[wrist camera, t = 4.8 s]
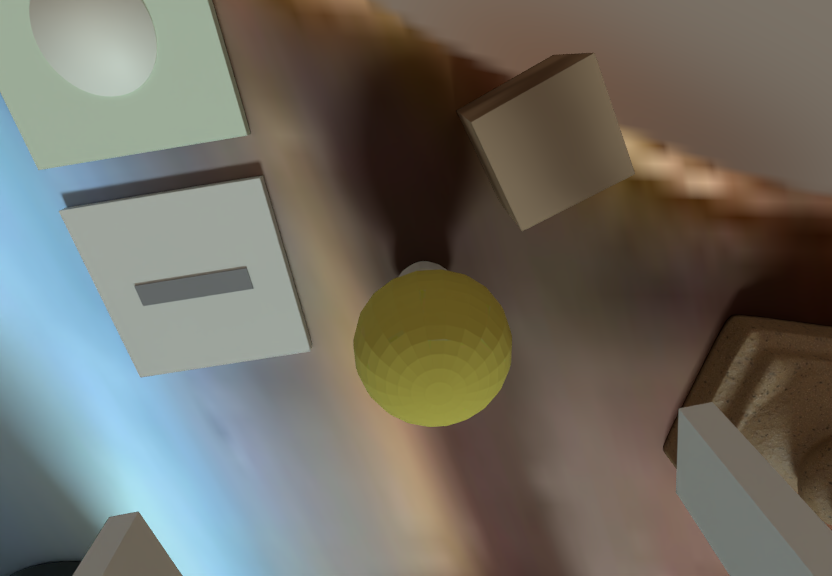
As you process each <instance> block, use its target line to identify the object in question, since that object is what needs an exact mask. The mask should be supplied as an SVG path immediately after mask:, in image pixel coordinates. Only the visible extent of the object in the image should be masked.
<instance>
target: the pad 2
mask: <svg viewBox="0 0 832 576" xmlns="http://www.w3.org/2000/svg"><path fill="white" fill-rule="evenodd" d="M59 213H60V215H61V217H62V219H63V221H64V223H65V225H66V227H67V229H68V231H69V233H70V235H71V237H72V239H73V241H74V243H75V245H76V247H77V249H78V251H79V253H80V255H81V257H82V259H83V262H84V264H85V266H86V268H87V270H88V272H89V274H90V276H91V278H92V280H93V282H94V284H95V286H96V288H97V290H98V292H99V294H100V296H101V298H102V300H103V302H104V304H105V306H106V308H107V310H108V312H109V314H110V317H111V319H112V321H113V323H114V325H115V327H116V329H117V331H118V333H119V335H120V337H121V339H122V341H123V343H124V345H125V347H126V349H127V351H128V353H129V355H130V357H131V359H132V361H133V363H134V365H135V367H136V369H137V372H138V374H139V376H140V377H146V376H153V375H159V374H166V373H172V372H179V371H185V370H192V369H198V368H205V367H211V366H218V365H224V364H231V363H237V362H244V361H250V360H257V359H263V358H270V357H276V356H283V355H289V354H296V353H302V352H309V351H311V348H312V343H311V340H310V336H309V333H308V329H307V326H306V322H305V319H304V315H303V312H302V309H301V305H300V302H299V298H298V295H297V291H296V288H295V284H294V281H293V278H292V274H291V271H290V267H289V264H288V260H287V257H286V253H285V250H284V246H283V243H282V240H281V236H280V233H279V229H278V226H277V222H276V219H275V215H274V212H273V209H272V205H271V202H270V198H269V195H268V191H267V188H266V184H265V181H264V178H263V175H262V176H256V177H250V178H244V179H238V180H232V181H226V182H219V183H213V184H207V185H201V186H195V187H189V188H183V189H177V190H171V191H164V192H158V193H152V194H146V195H140V196H134V197H128V198H122V199H116V200H109V201H103V202H97V203H91V204H85V205H79V206H73V207H67V208H64V209H62V210H60V211H59Z"/></svg>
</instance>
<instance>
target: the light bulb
mask: <svg viewBox="0 0 832 576" xmlns="http://www.w3.org/2000/svg"><path fill="white" fill-rule="evenodd" d="M511 349H512V335H511V331H510V328H509V325H508V322H507V319H506V316H505V313H504V310H503V308H502V307H501V305H500V304H499V303H498V301H497V300H496V299H495V298H494V297H493V295H492V294H491V293H490V292H489V290H488V289H487V288H486V287H485V286H483V285H481V284H480V283H478V282H476V281H475V280H473V279H472V278H470V277H468V276H467V275H464V274H459V273H455V272H451V271H447V270H446V269H445V268H444V267H442V266H440V265H439V264H436V263H432V262H428V261H419V262H416V263H414V264H412V265H410V266H409V267H407V268H406V269H405V270H403V271H402V272H401V274H400V275H399V277H398V278H395V279H393V280H391V281H390V282H389V283H387V284H386V285H385V286H383V287H382V288H381V289H379V290H378V291H377V292H375V293H374V294H373V295H372V297H371V298H370V300H369V301H368V303H367V304H366V306H365V307H364V308H363V310H362V311H361V313H360V317H359V320H358V324H357V328H356V332H355V336H354V354H355V362H356V369H357V372H358V375H359V376H360V378H361V380H362V382H363V384H364V386H365V388H366V390H367V392H368V393H369V395H370V396H371V398H372V399H374V400H375V401H376V402H377V403H378V404H379V405H380V406H381V407H382V408H383V409H384V410H385V411H386V412H388V413H389V414H391V415H393V416H395V417H397V418H399V419H401V420H403V421H405V422H407V423H411V424H417V425H422V426H427V427H434V426H448V425H451V424H454V423H458V422H461V421H464V420H466V419H468V418H470V417H472V416H473V415H475V414H476V413H478V412H479V411H481V410H483V409H484V408H485V407H486V406H487V405H488V404H489V403H490V401H491V400H492V399H493V398H494V397H495V396H496V395H497V393H498V392H499V391H500V390H501V387H502V385H503V383H504V380H505V378H506V376H507V373H508V371H509V368H510V365H511Z"/></svg>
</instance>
